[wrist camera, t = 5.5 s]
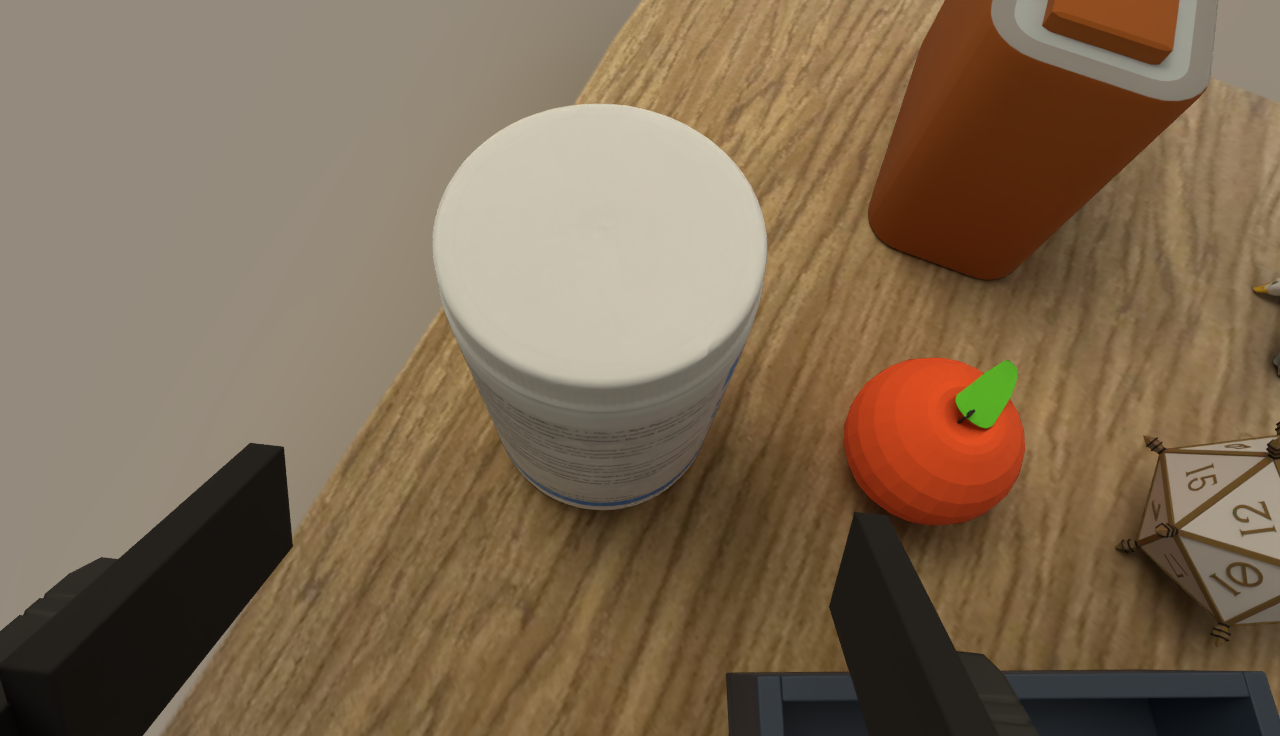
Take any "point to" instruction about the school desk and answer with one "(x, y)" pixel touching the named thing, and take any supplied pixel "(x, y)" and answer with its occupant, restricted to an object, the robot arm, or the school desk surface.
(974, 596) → the school desk surface
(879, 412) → the clementine
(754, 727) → the bin
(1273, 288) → the eagle figurine
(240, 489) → the robot arm
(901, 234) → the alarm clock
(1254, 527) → the game die
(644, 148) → the supplement tub
